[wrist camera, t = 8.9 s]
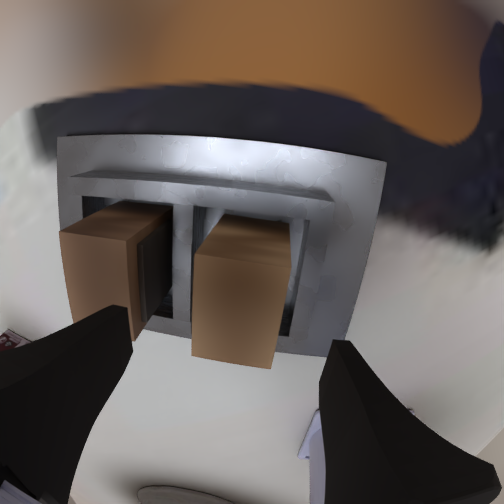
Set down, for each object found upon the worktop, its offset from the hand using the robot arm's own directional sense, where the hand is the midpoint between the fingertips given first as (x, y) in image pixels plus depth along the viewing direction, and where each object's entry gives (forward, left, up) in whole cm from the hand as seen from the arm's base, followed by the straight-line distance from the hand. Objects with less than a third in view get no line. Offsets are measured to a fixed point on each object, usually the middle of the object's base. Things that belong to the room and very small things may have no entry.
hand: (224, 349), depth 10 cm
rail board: (+3, 0, -9) cm, 10 cm away
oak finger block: (0, 0, -8) cm, 8 cm away
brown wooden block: (+6, 0, -8) cm, 10 cm away
